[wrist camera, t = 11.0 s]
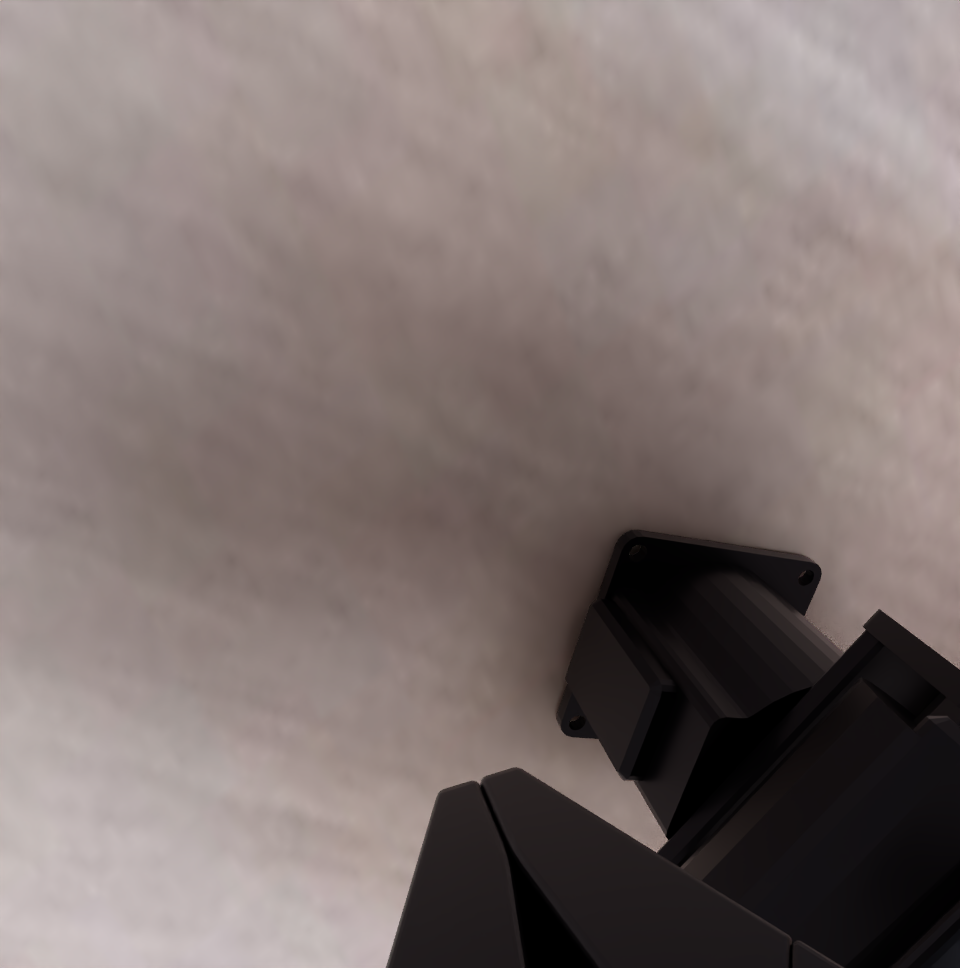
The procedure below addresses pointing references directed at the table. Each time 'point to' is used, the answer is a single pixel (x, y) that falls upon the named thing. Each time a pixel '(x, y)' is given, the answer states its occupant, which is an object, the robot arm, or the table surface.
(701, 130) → the table surface
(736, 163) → the table surface
